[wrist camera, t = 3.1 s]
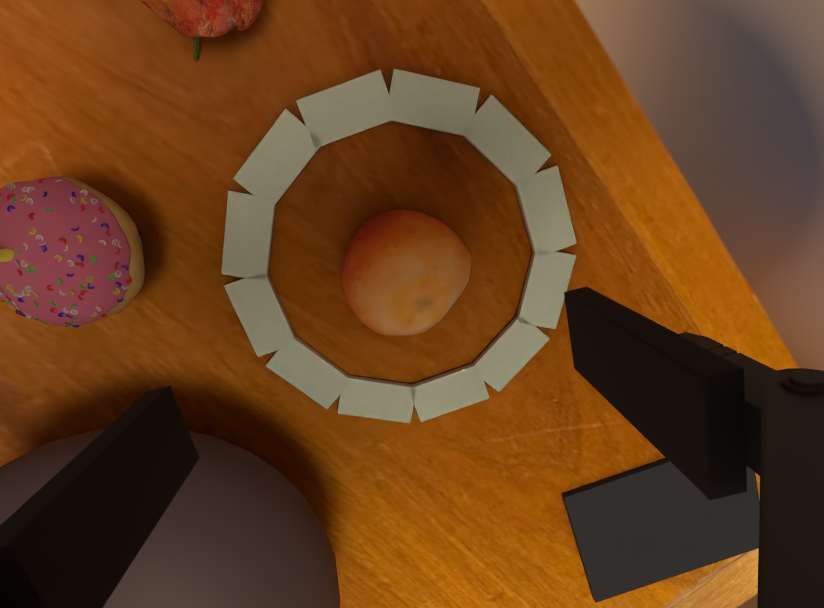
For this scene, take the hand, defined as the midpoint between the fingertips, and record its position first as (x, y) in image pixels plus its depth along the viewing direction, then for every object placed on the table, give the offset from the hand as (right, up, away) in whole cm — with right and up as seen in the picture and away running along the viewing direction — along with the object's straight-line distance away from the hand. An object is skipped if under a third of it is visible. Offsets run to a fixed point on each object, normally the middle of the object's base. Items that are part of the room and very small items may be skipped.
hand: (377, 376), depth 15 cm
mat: (+23, -16, +25) cm, 38 cm away
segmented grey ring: (0, +5, +17) cm, 18 cm away
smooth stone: (-17, -15, +22) cm, 31 cm away
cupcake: (-19, +7, +16) cm, 26 cm away
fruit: (0, +5, +17) cm, 18 cm away
